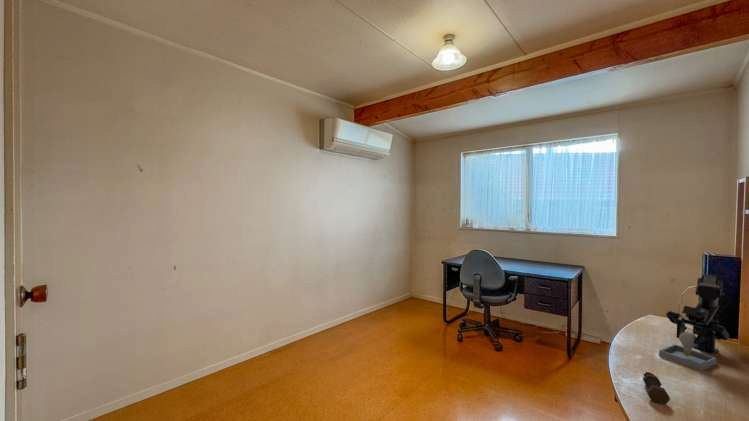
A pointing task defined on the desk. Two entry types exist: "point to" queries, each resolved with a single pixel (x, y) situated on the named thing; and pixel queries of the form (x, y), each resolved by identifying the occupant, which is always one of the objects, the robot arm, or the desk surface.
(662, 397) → the dark brown lumpy piece
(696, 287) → the robot arm
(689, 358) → the tray
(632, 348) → the desk surface
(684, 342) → the light bulb
